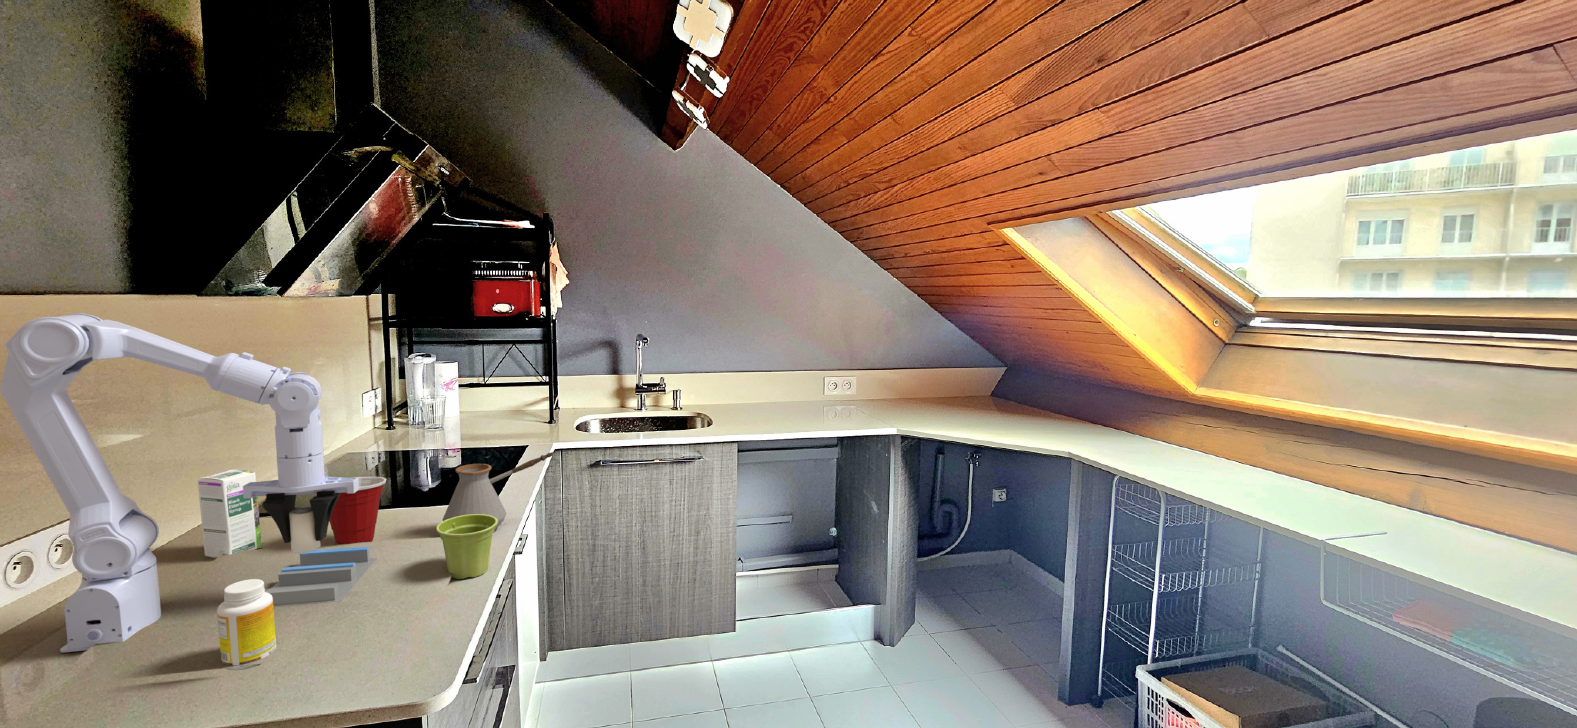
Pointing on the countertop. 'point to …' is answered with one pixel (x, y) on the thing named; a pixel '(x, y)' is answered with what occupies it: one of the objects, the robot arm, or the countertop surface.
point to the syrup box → (228, 513)
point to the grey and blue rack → (321, 576)
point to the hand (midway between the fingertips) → (305, 539)
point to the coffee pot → (481, 491)
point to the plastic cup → (357, 512)
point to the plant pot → (467, 543)
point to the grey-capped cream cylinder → (303, 530)
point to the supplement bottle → (246, 624)
